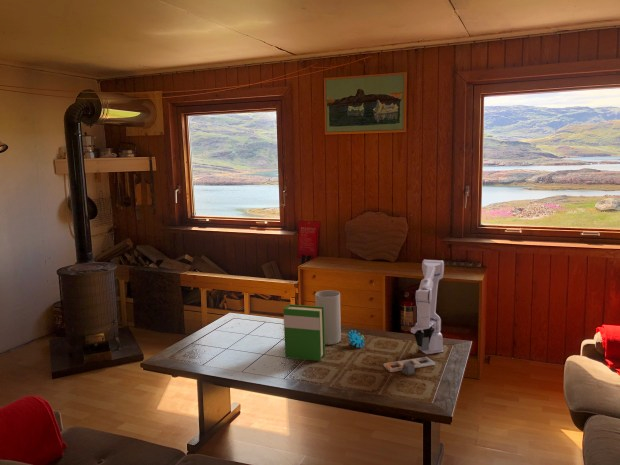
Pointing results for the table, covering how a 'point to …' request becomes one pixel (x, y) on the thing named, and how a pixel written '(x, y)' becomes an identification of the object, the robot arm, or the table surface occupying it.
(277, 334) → the table surface
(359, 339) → the gear
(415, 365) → the square hole plate
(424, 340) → the dark square post
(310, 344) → the hardback book
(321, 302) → the cylinder vase
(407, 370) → the grey wood-grain cube
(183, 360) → the table surface
